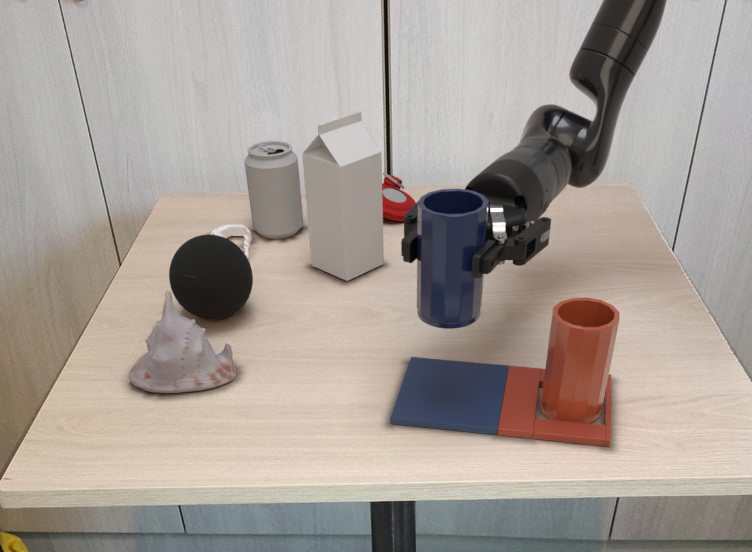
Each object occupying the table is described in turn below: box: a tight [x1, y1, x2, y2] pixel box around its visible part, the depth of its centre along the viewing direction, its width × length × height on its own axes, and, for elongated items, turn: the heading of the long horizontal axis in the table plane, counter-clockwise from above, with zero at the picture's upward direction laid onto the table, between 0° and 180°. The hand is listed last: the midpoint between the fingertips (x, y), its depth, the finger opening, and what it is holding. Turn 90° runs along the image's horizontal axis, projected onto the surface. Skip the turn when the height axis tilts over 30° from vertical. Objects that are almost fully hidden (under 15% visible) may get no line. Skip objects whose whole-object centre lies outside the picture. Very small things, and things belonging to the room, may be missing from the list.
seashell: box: [128, 289, 238, 394], centre depth 89 cm, size 10×12×9 cm
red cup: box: [539, 297, 621, 424], centre depth 81 cm, size 6×6×11 cm
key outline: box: [210, 223, 253, 260], centre depth 116 cm, size 13×5×2 cm, turn 23°
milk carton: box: [301, 110, 385, 282], centre depth 105 cm, size 7×7×19 cm
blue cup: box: [416, 188, 489, 330], centre depth 76 cm, size 6×6×11 cm
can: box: [244, 140, 304, 240], centre depth 117 cm, size 8×8×12 cm
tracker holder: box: [382, 171, 417, 222], centre depth 124 cm, size 12×4×10 cm
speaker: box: [168, 234, 254, 321], centre depth 98 cm, size 10×10×10 cm
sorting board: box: [389, 356, 612, 447], centre depth 86 cm, size 22×12×1 cm, turn 77°
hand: (440, 260), depth 74 cm, fingers closed on blue cup, 6 cm apart
